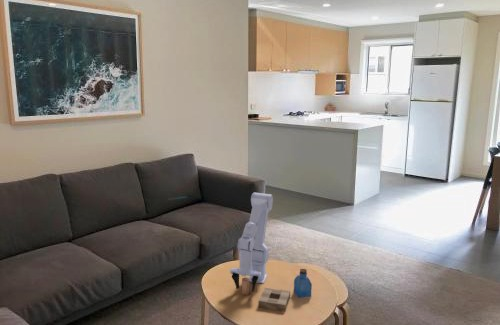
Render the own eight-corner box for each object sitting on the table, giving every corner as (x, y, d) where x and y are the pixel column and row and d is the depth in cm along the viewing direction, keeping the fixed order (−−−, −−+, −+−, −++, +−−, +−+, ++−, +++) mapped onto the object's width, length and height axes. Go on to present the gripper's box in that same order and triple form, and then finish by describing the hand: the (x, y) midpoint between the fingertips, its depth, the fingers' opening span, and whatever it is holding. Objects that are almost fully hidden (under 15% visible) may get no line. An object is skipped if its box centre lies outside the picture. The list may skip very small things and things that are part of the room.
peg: (243, 290, 190) (243, 277, 189) (249, 291, 189) (249, 278, 188) (241, 294, 187) (241, 280, 186) (247, 295, 186) (247, 281, 185)
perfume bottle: (298, 298, 184) (299, 274, 182) (293, 291, 190) (294, 268, 188) (311, 296, 186) (312, 272, 184) (305, 289, 192) (306, 266, 189)
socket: (264, 293, 188) (265, 287, 187) (290, 297, 185) (290, 291, 184) (258, 307, 176) (258, 300, 176) (285, 311, 173) (285, 305, 173)
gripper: (228, 263, 183) (228, 291, 186) (258, 268, 179) (258, 295, 182) (232, 257, 190) (232, 283, 193) (262, 261, 186) (261, 288, 189)
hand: (245, 289), depth 188 cm, fingers open, 7 cm apart
